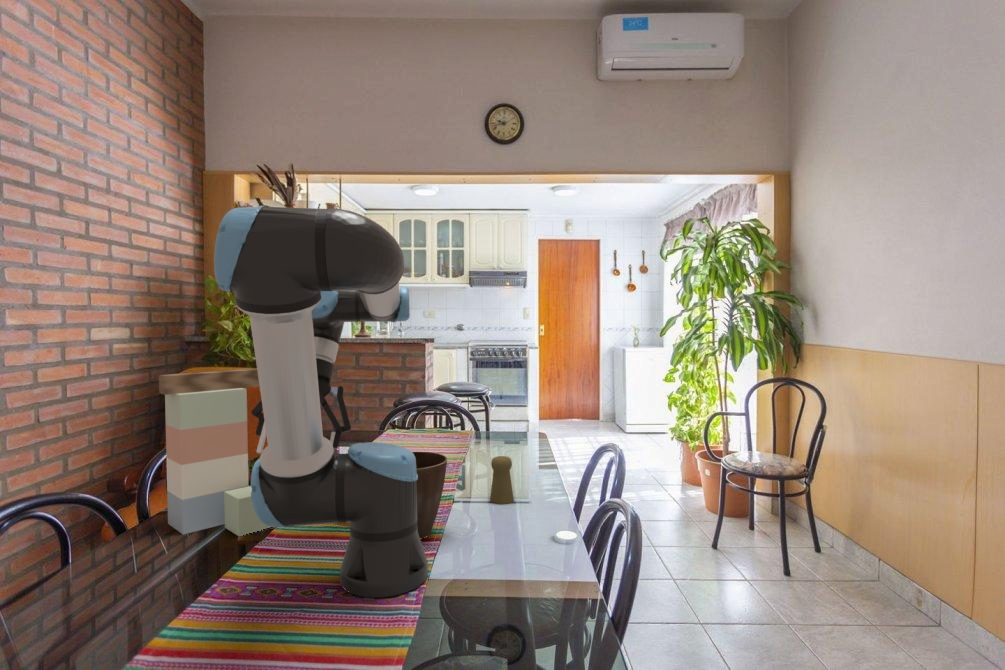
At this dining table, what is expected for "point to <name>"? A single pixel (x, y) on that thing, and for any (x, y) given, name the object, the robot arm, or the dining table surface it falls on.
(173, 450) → the brick tower
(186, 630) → the dining table surface
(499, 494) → the cork
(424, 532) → the plant pot
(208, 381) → the walnut bar
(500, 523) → the dining table surface
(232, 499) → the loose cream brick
